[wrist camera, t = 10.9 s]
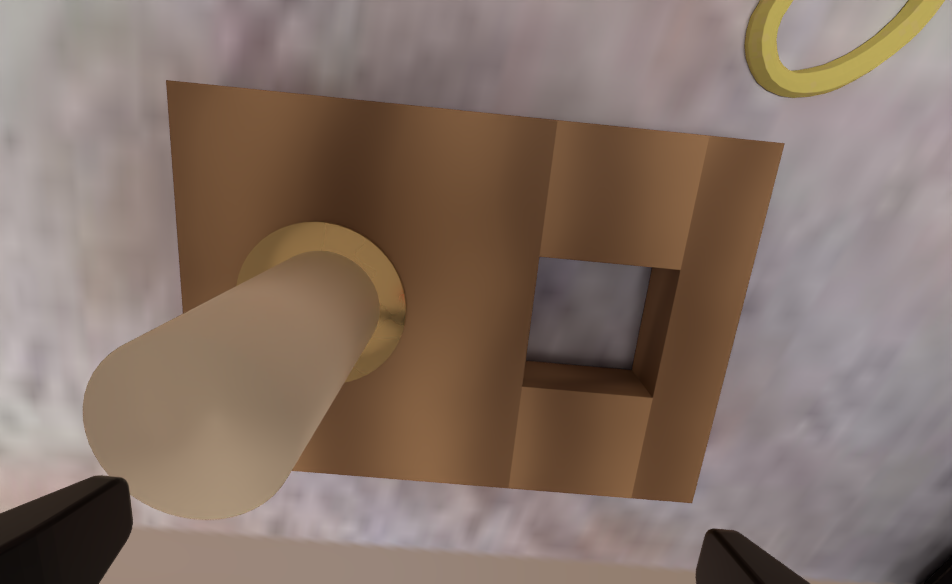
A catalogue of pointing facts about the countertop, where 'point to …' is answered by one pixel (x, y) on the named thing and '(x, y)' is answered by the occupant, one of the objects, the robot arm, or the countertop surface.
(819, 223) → the countertop surface
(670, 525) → the countertop surface
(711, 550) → the robot arm
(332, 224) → the brass disc
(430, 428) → the walnut holder
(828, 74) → the key
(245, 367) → the ivory candle
